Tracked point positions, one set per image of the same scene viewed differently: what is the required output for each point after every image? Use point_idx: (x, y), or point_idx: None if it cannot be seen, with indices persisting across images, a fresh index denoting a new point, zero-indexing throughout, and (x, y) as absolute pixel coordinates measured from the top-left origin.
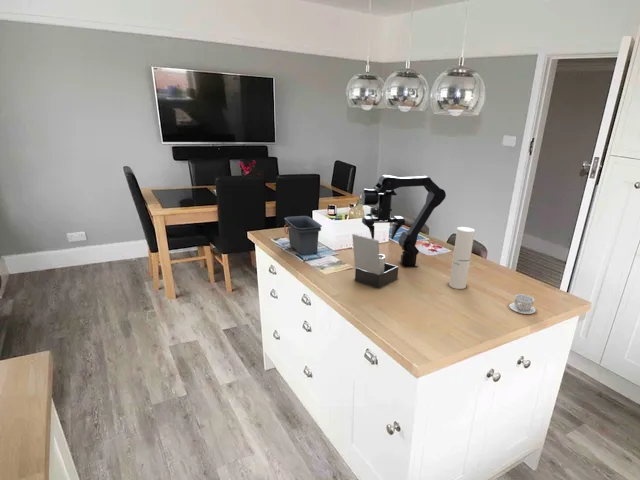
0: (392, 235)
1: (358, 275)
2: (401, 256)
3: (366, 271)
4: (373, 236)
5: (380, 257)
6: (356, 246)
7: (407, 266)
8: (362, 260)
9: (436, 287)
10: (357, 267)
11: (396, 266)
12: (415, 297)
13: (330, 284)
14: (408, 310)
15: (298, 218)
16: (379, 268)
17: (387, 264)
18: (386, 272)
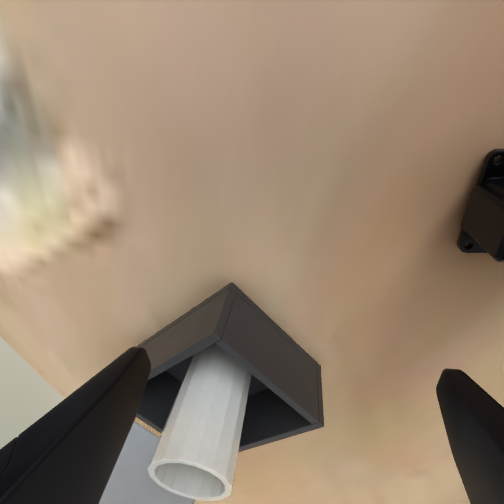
0: (465, 464)
1: None
2: (501, 220)
3: (155, 429)
4: (122, 427)
5: (214, 450)
6: None
7: (480, 250)
8: (108, 483)
9: (442, 446)
10: None
11: (313, 423)
12: (318, 466)
13: (55, 354)
14: (268, 492)
15: None
16: (192, 501)
17: (275, 391)
18: (240, 450)
